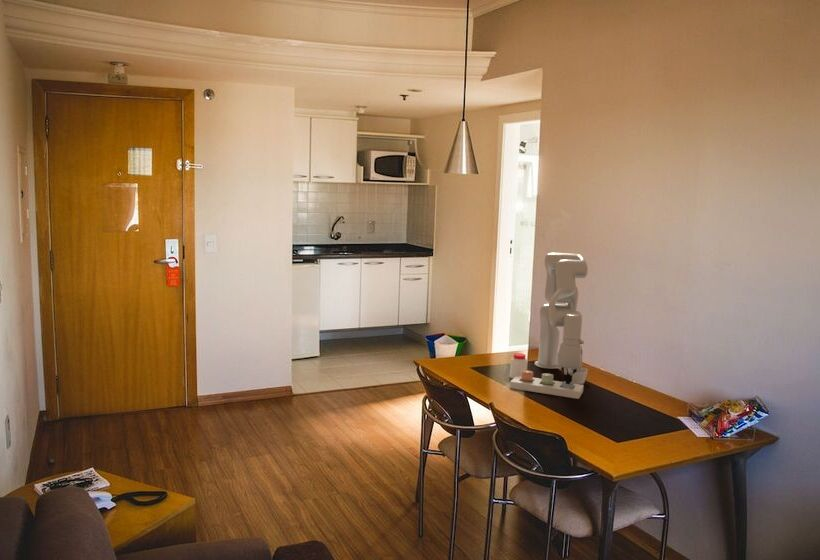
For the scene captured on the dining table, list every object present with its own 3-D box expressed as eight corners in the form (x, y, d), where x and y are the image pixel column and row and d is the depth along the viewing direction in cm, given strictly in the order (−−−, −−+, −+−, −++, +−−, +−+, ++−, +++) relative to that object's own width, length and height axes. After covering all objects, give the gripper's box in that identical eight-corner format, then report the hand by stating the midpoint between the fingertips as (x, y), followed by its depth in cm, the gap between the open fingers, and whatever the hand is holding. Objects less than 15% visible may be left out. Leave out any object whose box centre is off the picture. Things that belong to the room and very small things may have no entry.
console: (516, 381, 312) (517, 375, 312) (583, 391, 301) (583, 385, 300) (510, 388, 301) (510, 381, 301) (578, 398, 290) (579, 392, 289)
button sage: (542, 381, 304) (543, 372, 303) (553, 383, 302) (554, 374, 301) (540, 384, 299) (540, 375, 299) (551, 386, 297) (552, 377, 297)
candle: (574, 385, 310) (575, 372, 309) (562, 380, 318) (563, 367, 317) (590, 384, 313) (591, 370, 313) (578, 378, 322) (579, 365, 321)
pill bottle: (525, 375, 322) (527, 353, 321) (526, 380, 315) (528, 357, 313) (509, 374, 323) (510, 352, 322) (510, 379, 315) (511, 356, 314)
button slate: (562, 389, 301) (563, 380, 300) (573, 391, 299) (574, 382, 298) (560, 392, 296) (561, 383, 296) (572, 394, 294) (572, 385, 294)
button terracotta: (522, 378, 307) (523, 369, 307) (533, 380, 305) (534, 371, 305) (520, 381, 303) (520, 372, 302) (531, 382, 301) (531, 374, 300)
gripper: (590, 342, 295) (586, 383, 297) (555, 338, 301) (552, 378, 303) (587, 345, 288) (584, 388, 291) (552, 341, 294) (549, 382, 296)
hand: (568, 383), depth 297 cm, fingers closed
